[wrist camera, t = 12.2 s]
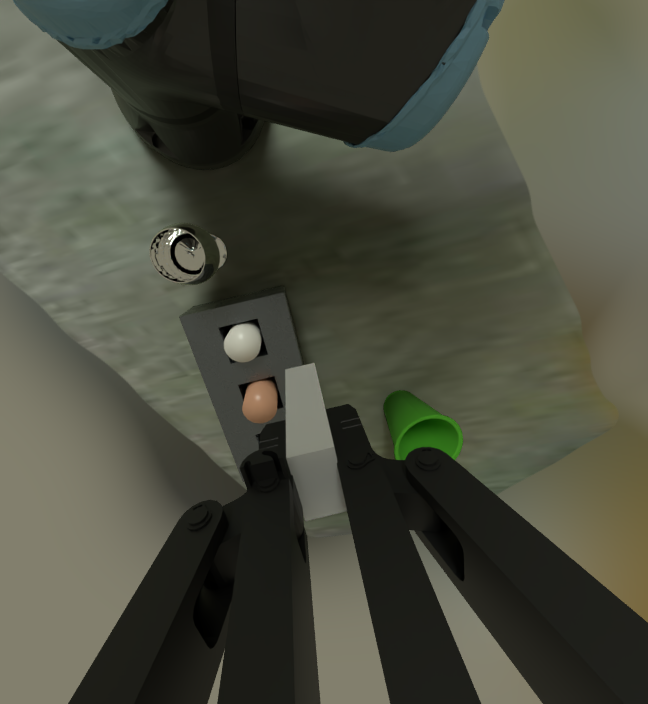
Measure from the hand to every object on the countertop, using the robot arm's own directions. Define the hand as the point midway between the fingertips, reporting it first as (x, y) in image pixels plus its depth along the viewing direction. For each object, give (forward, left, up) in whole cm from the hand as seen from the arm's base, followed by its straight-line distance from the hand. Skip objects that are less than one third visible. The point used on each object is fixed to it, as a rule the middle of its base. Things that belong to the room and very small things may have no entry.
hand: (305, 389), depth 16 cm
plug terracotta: (+10, -7, -25) cm, 28 cm away
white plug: (+3, -7, -27) cm, 28 cm away
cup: (+20, +12, -28) cm, 36 cm away
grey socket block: (+10, -7, -27) cm, 30 cm away
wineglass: (-8, -9, -28) cm, 30 cm away
